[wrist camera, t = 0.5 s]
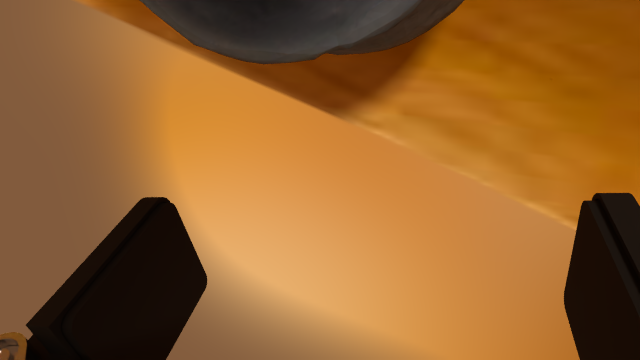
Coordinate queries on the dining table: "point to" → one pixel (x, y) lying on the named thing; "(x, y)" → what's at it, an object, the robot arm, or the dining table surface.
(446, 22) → the dining table surface
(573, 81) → the dining table surface
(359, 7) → the pitcher
